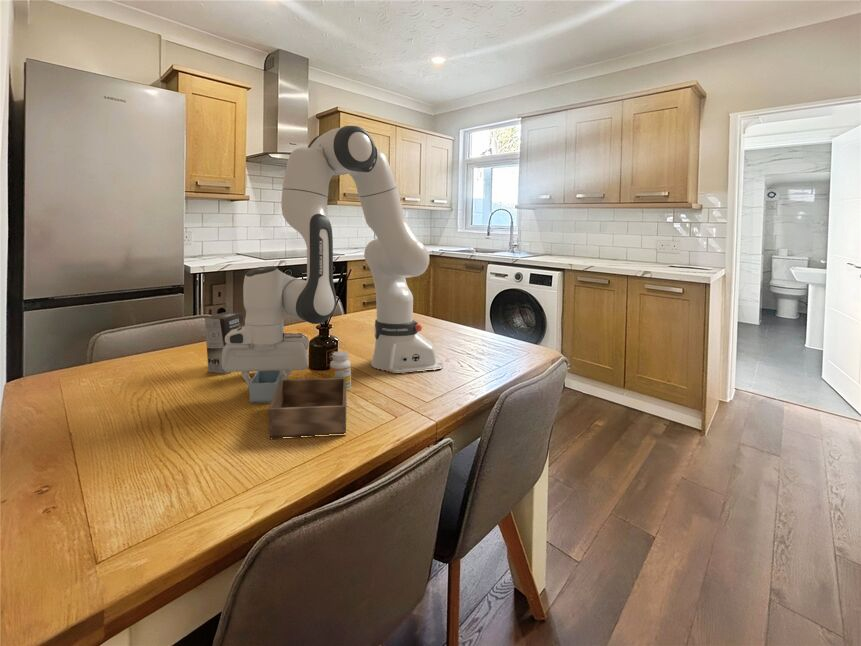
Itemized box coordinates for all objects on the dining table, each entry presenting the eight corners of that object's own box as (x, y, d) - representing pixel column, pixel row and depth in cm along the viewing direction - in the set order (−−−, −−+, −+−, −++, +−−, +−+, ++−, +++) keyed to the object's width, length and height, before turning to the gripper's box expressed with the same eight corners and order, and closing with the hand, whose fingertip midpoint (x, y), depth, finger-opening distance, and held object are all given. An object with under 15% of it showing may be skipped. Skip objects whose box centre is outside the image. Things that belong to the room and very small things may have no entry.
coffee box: (227, 374, 127) (223, 318, 124) (207, 372, 129) (203, 317, 125) (246, 364, 136) (243, 312, 133) (227, 362, 137) (224, 311, 134)
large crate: (346, 403, 110) (346, 378, 109) (345, 435, 94) (345, 406, 92) (281, 405, 108) (280, 379, 106) (269, 439, 91) (267, 409, 90)
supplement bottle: (331, 384, 122) (331, 350, 120) (351, 384, 123) (351, 350, 121) (329, 391, 117) (328, 356, 115) (349, 391, 117) (349, 356, 115)
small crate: (284, 386, 120) (283, 368, 119) (277, 402, 109) (277, 383, 108) (259, 387, 119) (258, 369, 117) (250, 403, 108) (248, 384, 107)
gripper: (309, 330, 115) (311, 381, 118) (224, 330, 112) (228, 383, 115) (307, 336, 109) (309, 389, 112) (217, 337, 106) (221, 392, 109)
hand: (267, 386), depth 113 cm, fingers closed on small crate, 6 cm apart
